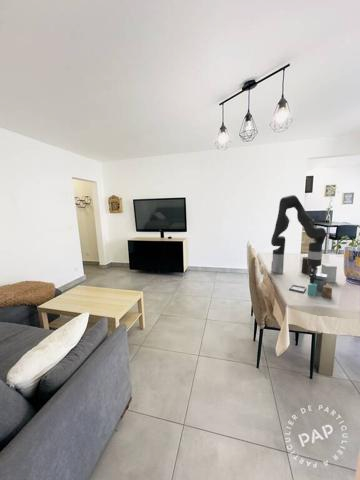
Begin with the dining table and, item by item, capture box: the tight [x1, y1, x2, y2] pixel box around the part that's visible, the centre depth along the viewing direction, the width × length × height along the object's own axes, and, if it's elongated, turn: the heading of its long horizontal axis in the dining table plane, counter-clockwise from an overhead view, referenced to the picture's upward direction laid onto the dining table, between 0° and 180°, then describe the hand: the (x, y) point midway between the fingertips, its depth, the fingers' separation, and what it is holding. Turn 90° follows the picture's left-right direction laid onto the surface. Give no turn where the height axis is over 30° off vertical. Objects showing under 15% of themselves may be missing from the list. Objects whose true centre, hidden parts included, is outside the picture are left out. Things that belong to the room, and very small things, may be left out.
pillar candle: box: [301, 256, 311, 276], centre depth 170 cm, size 10×10×15 cm
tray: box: [288, 284, 307, 294], centre depth 138 cm, size 9×9×1 cm
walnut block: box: [322, 284, 334, 300], centre depth 125 cm, size 4×4×7 cm
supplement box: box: [320, 263, 338, 283], centre depth 152 cm, size 7×7×13 cm
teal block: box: [307, 282, 318, 297], centre depth 130 cm, size 4×4×7 cm
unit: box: [311, 272, 328, 293], centre depth 136 cm, size 9×8×11 cm
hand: (312, 281), depth 129 cm, fingers open, 8 cm apart
